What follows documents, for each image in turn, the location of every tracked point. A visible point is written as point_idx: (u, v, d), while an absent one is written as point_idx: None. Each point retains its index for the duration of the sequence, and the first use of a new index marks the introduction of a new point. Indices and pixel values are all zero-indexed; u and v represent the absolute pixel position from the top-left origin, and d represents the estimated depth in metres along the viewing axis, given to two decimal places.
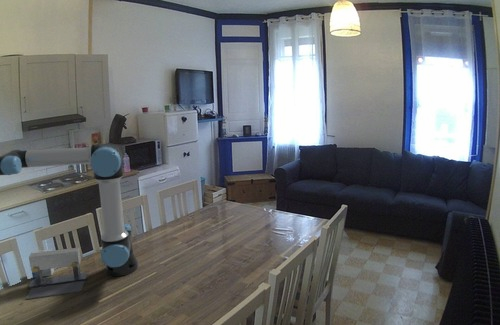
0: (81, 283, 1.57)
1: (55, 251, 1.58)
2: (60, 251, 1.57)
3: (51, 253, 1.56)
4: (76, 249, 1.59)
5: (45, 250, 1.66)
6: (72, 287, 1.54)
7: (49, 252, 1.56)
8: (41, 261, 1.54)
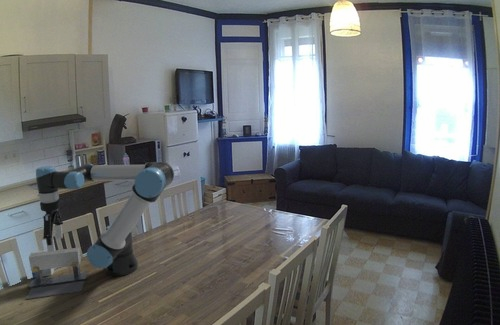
0: (81, 283, 1.57)
1: (55, 251, 1.58)
2: (60, 251, 1.57)
3: (51, 253, 1.56)
4: (76, 249, 1.59)
5: (45, 250, 1.66)
6: (72, 287, 1.54)
7: (49, 252, 1.56)
8: (41, 261, 1.54)
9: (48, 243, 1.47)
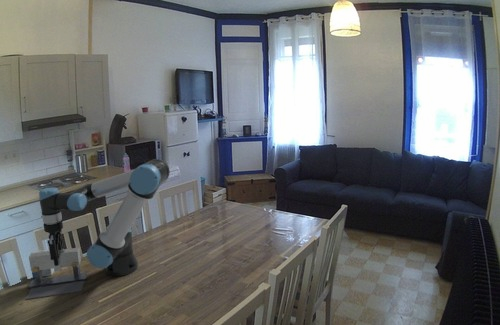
0: (81, 283, 1.57)
1: None
2: (60, 251, 1.57)
3: None
4: (76, 249, 1.59)
5: (45, 250, 1.66)
6: (72, 287, 1.54)
7: (49, 252, 1.56)
8: (41, 261, 1.54)
9: (55, 264, 1.54)
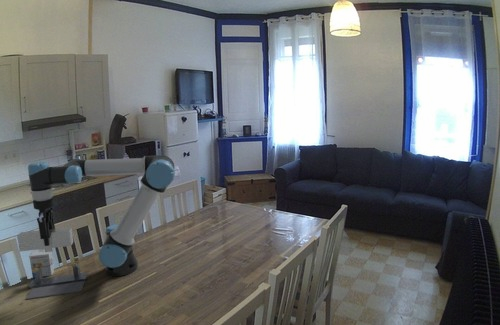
0: (81, 283, 1.57)
1: None
2: (51, 230, 1.47)
3: None
4: (68, 229, 1.49)
5: None
6: (72, 287, 1.54)
7: (39, 232, 1.46)
8: (31, 241, 1.44)
9: (45, 243, 1.44)
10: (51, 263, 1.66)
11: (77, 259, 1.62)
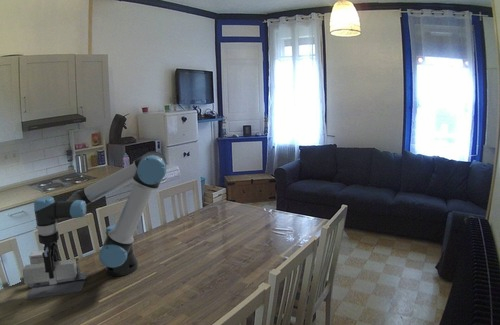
0: (81, 283, 1.57)
1: None
2: (55, 263, 1.50)
3: None
4: (72, 261, 1.52)
5: None
6: (72, 287, 1.54)
7: (43, 265, 1.49)
8: (35, 274, 1.47)
9: (50, 276, 1.47)
10: None
11: (77, 259, 1.62)
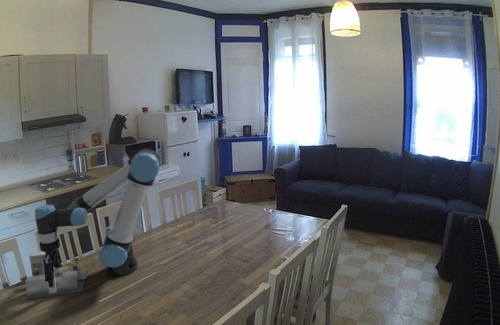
0: (81, 283, 1.57)
1: None
2: (57, 274, 1.51)
3: None
4: (74, 272, 1.53)
5: None
6: None
7: None
8: (38, 286, 1.48)
9: (50, 285, 1.45)
10: None
11: (77, 259, 1.62)
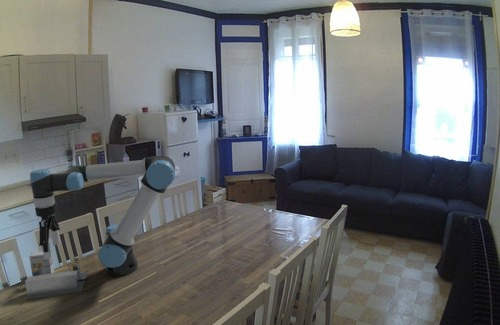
0: (81, 283, 1.57)
1: (52, 274, 1.52)
2: (57, 274, 1.51)
3: (48, 277, 1.50)
4: (74, 272, 1.53)
5: None
6: None
7: (46, 276, 1.50)
8: (38, 286, 1.48)
9: (45, 250, 1.40)
10: (51, 263, 1.66)
11: (77, 259, 1.62)
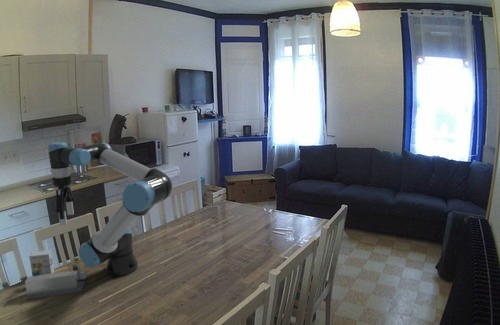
0: (81, 283, 1.57)
1: (52, 274, 1.52)
2: (57, 274, 1.51)
3: (48, 277, 1.50)
4: (74, 272, 1.53)
5: (45, 250, 1.66)
6: None
7: (46, 276, 1.50)
8: (38, 286, 1.48)
9: (61, 217, 1.50)
10: (51, 263, 1.66)
11: (77, 259, 1.62)
